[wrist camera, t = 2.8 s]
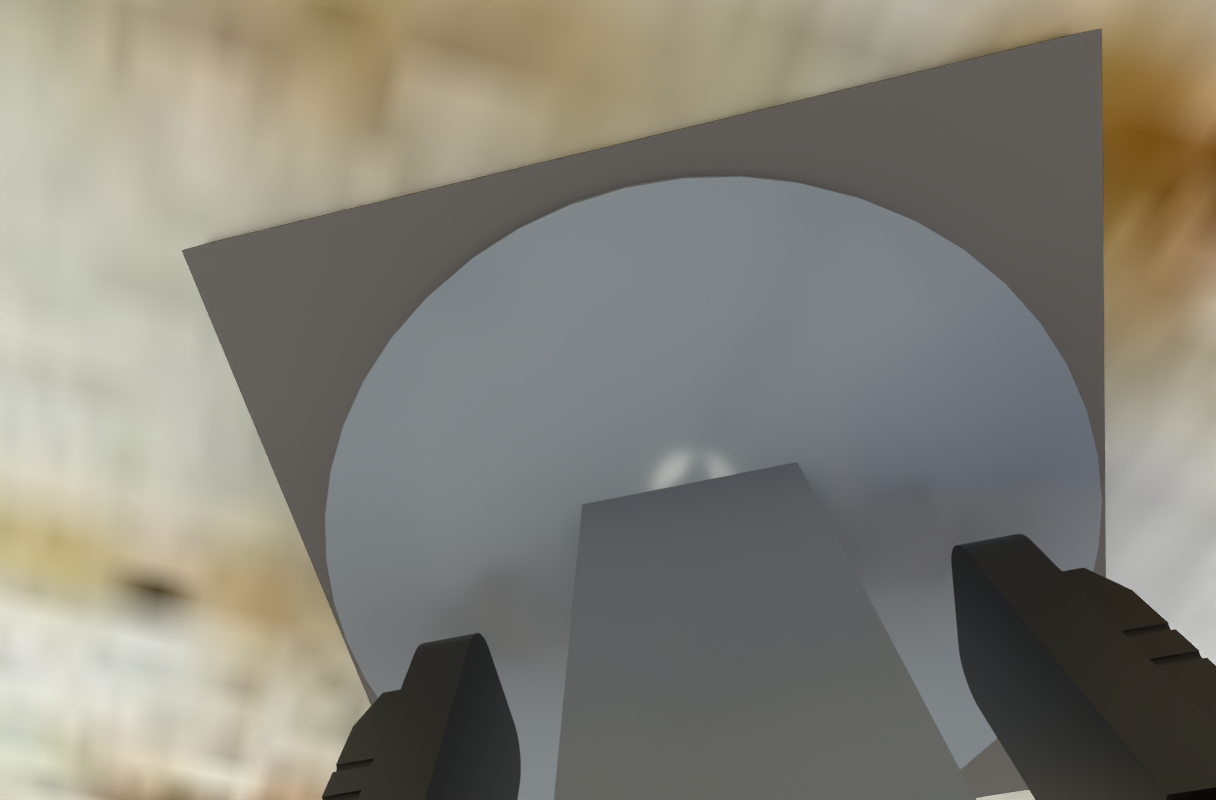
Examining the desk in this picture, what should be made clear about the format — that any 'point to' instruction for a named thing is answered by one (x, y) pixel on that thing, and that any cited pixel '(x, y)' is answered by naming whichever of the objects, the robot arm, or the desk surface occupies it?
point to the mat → (744, 145)
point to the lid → (709, 489)
